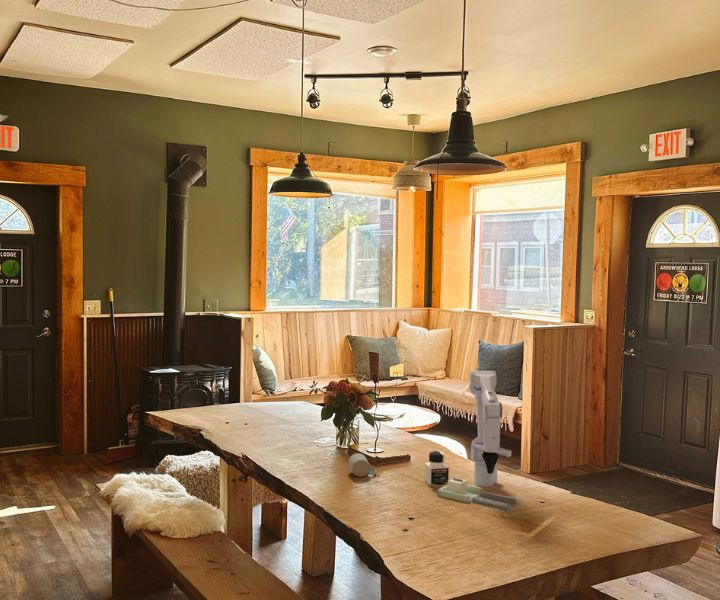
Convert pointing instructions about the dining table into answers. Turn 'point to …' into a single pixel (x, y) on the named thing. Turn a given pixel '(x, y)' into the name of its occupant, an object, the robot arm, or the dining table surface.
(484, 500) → the dock
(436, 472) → the medicine bottle
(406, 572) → the dining table surface
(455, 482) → the beige cardboard box
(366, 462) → the ceramic mug
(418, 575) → the dining table surface
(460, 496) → the tray
